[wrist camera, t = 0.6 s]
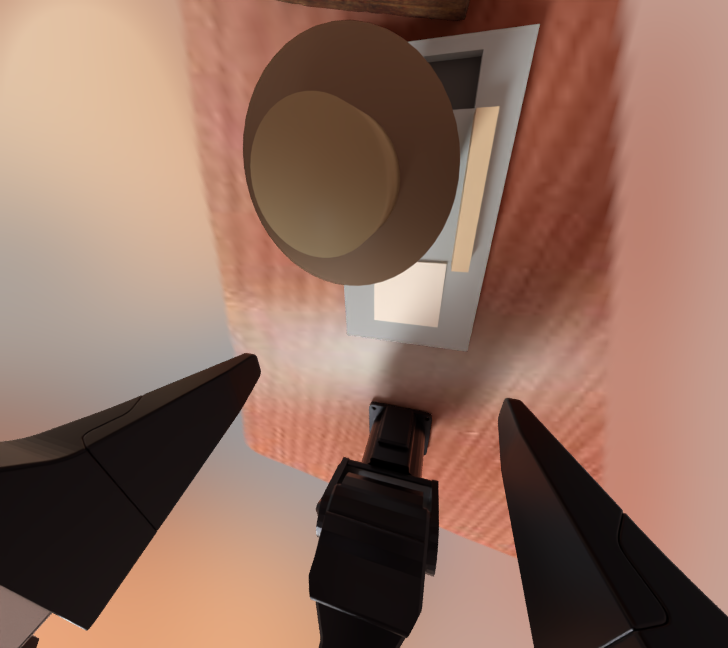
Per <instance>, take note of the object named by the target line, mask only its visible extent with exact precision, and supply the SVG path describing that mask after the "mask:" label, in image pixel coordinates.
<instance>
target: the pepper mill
mask: <svg viewBox="0 0 728 648" xmlns="http://www.w3.org/2000/svg"><path fill="white" fill-rule="evenodd" d="M243 158H244V169H245V175H246V181H247V185H248V189H249V193H250V197H251V200H252V202H253V205H254V208H255V210H256V212H257V215H258V217H259V219H260V221H261V223H262V225H263V226H264V228H265V230H266V231H267V233H268V235H269V236H270V237H271V239H272V240H273V241H274V243H275V244H276V245H277V247H278V248H279V249H280V250H281V251H282V252H283V253H284V254H285V255H286V256H287V257H288V258H289V259H290V260H291V261H292V262H294V263H295V264H296V265H298V266H299V267H300V268H302V269H303V270H305V271H306V272H308V273H310V274H312V275H313V276H315V277H318V278H320V279H323V280H325V281H328V282H332V283H335V284H341V285H347V286H362V285H371V284H375V283H380V282H383V281H386V280H388V279H391V278H393V277H395V276H397V275H399V274H401V273H403V272H404V271H406V270H407V269H409V268H410V267H411V266H413V265H414V264H415V263H416V262H417V261H418V260H420V259H421V258H422V257H423V256H424V255H425V254H426V253H427V251H428V250H429V249H430V248H431V246H432V245H433V244H434V243H435V241H436V240H437V238H438V236H439V235H440V233H441V232H442V230H443V228H444V226H445V224H446V222H447V219H448V217H449V215H450V212H451V209H452V206H453V203H454V200H455V196H456V191H457V186H458V181H459V171H460V142H459V136H458V130H457V123H456V119H455V116H454V113H453V109H452V106H451V102H450V100H449V98H448V96H447V93H446V91H445V89H444V87H443V84H442V82H441V81H440V79H439V78H438V76H437V75H436V73H435V71H434V70H433V68H432V67H431V65H430V64H429V63H428V62H427V61H426V59H425V58H424V57H423V56H422V55H421V54H420V52H419V51H418V50H417V49H415V48H414V47H413V46H412V45H411V44H409V43H408V42H407V41H406V40H405V39H403V38H402V37H400V36H398V35H397V34H395V33H393V32H391V31H390V30H388V29H386V28H383V27H381V26H378V25H375V24H372V23H369V22H362V21H355V20H342V21H331V22H328V23H324V24H320V25H317V26H314V27H312V28H310V29H308V30H306V31H304V32H302V33H300V34H299V35H297V36H296V37H295V38H293V39H292V40H291V41H289V42H288V43H286V44H285V46H284V47H283V48H282V49H281V50H280V51H279V52H278V53H277V54H276V55H275V56H274V57H273V58H272V60H271V61H270V63H269V64H268V65H267V67H266V68H265V70H264V71H263V73H262V75H261V77H260V79H259V81H258V83H257V84H256V87H255V89H254V92H253V95H252V97H251V100H250V103H249V107H248V111H247V115H246V120H245V128H244V135H243Z"/></svg>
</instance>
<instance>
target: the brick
mask: <svg viewBox="0 0 728 648" xmlns="http://www.w3.org/2000/svg"><path fill="white" fill-rule="evenodd" d="M278 1H282V2H287V3H292V4H302V5H304V6H310V7H319V8H329V9H338V10H346V11H357V12H371V13H385V14H392V15H400V16H408V17H423V18H430V19H445V20H463V19H465V17H466V13H467V9H468V5H469V1H470V0H278Z"/></svg>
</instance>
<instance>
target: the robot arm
mask: <svg viewBox="0 0 728 648" xmlns="http://www.w3.org/2000/svg"><path fill="white" fill-rule="evenodd" d="M260 374H261V369H260V366H259V362H258V358H257V356H256V355H255V354H250V353H244V354H242V355H239V356H237V357H234V358H232V359H230V360H228V361H225V362H222V363H220V364H217V365H215V366H213V367H210V368H208V369H205V370H203V371H200V372H198V373H195V374H193V375H190V376H188V377H186V378H183V379H181V380H178V381H176V382H173V383H171V384H168V385H166V386H163V387H161V388H159V389H156V390H154V391H151V392H149V393H146V394H145V395H143V396H139V397H137V398H134V399H132V400H129V401H127V402H124V403H122V404H119V405H116V406H114V407H111V408H109V409H106V410H104V411H101V412H98V413H95V414H92V415H90V416H87V417H84V418H81V419H79V420H76V421H73V422H70V423H68V424H65V425H62V426H59V427H56V428H53V429H51V430H48V431H45V432H42V433H40V434H36V435H33V436H30V437H26V438H22V439H17V440H12V441H4V442H0V648H36V647H37V644H38V641H39V638H37V637H36V636H34V635H33V634H34V633H35V632H36V631H37V629H38V628H39V627H40V626H41V625H42V624H43V622H45V620H46V619H47V618H48V617H49V616H50V615H51V614H52V613H54V614H56V615H58V616H59V617H61V618H63V619H65V620H67V621H69V622H71V623H73V624H75V625H77V626H78V627H80V628H82V629H84V630H88V629H89V628H90V627H91V626H92V624H93V623H94V622H95V621H96V619H97V618H98V617H99V615H100V614H101V612H102V611H103V609H104V608H105V606H106V605H107V603H108V602H109V600H110V599H111V598H112V596H113V595H114V593H115V592H116V590H117V589H118V588H119V586H120V584H121V583H122V582H123V580H124V579H125V577H126V576H127V575H128V573H129V572H130V570H131V569H132V567H133V566H134V564H135V563H136V562H137V560H138V559H139V557H140V556H141V554H142V553H143V551H144V550H145V548H146V547H147V546H148V544H149V542H150V541H151V540H152V538H153V537H154V535H155V534H156V532H157V530H158V529H159V528H160V526H161V525H162V523H163V522H164V521H165V519H166V518H167V516H168V515H169V514H170V512H171V511H172V509H173V508H174V506H175V505H176V503H177V502H178V501H179V499H180V497H181V496H182V495H183V493H184V492H185V490H186V489H187V488H188V486H189V484H190V483H191V482H192V480H193V479H194V477H195V476H196V474H197V473H198V472H199V470H200V469H201V467H202V466H203V464H204V463H205V461H206V460H207V459H208V457H209V456H210V454H211V453H212V451H213V450H214V448H215V447H216V446H217V444H218V443H219V441H220V440H221V438H222V437H223V435H224V434H225V433H226V431H227V430H228V428H229V427H230V425H231V424H232V422H233V421H234V420H235V418H236V416H237V415H238V414H239V412H240V411H241V409H242V407H243V406H244V404H245V402H246V400H247V399H248V397H249V395H250V393H251V392H252V390H253V388H254V386H255V384H256V383H257V381H258V379H259V377H260ZM373 406H374V407H373ZM427 417H428V418H427ZM431 423H432V415H431V414H430V413H428V412H423V411H418V410H412V409H407V408H402V407H397V406H392V405H387V404H382V403H377V402H371V403H370V406H369V425H370V435H369V439H368V442H367V445H366V449H365V452H364V455H363V459H362V462H358V461H354V460H350V459H349V458H346V457H343V459H342V461H341V463H340V464H339V465H338V467H337V469H336V471H335V473H334V475H333V477H332V479H331V481H330V482H329V484H328V486H327V489H326V490H325V492H324V494H323V496H322V498H321V499H320V501H319V502H318V504H317V507H316V512H317V514H318V520H317V526H316V535H317V537H319V541H318V546H317V549H316V553H315V557H314V560H313V563H312V566H311V570H310V573H309V594H310V598H311V599H312V600H314V601H316V608H317V615H318V623H319V630H320V644H319V648H400V646H401V645H402V643H403V641H404V640H405V638H407V637H408V636H409V634H410V633H411V630H412V629H413V627H414V625H415V623H416V621H417V619H418V617H419V615H420V613H421V610H422V603H423V602H422V601H423V592H424V580H425V574H427V575H431V576H434V574H435V569H436V562H437V552H438V536H439V495H438V481H436V480H428V479H424V478H421V477H422V466H423V455H426V453H427V447H428V441H429V435H430V429H431ZM498 430H499V445H500V461H501V471H502V478H503V483H504V489H505V494H506V499H507V505H508V510H509V515H510V521H511V526H512V532H513V537H514V542H515V548H516V553H517V558H518V563H519V569H520V574H521V579H522V585H523V590H524V596H525V601H526V607H527V612H528V617H529V622H530V628H531V633H532V639H533V644H534V648H728V616H727V615H726V614H724V612H723V611H721V609H719V608H718V607H717V606H716V605H715V604H714V603H713V602H712V601H711V600H710V599H709V598H708V597H707V596H706V595H705V594H704V593H703V592H702V591H701V590H700V589H699V588H698V587H697V586H696V585H695V584H694V583H693V582H691V580H690V579H689V578H687V576H686V575H685V574H684V573H683V572H682V571H681V570H679V568H678V567H677V566H676V565H675V564H673V562H672V561H671V560H670V559H669V558H668V557H667V556H665V554H664V553H663V552H662V551H661V550H660V549H659V548H658V547H657V546H656V545H655V544H654V543H653V542H652V541H651V540H650V539H649V538H648V537H647V536H646V534H644V532H643V531H642V530H641V529H640V528H639V527H638V526H637V525H636V524H635V523H634V522H633V521H632V520H631V518H630V517H629V516H628V515H627V514H625V513H623V510H622V509H621V508H620V507H619V506H618V505H617V504H616V502H615V501H614V500H613V499H612V498H611V497H610V496H609V495H608V494H607V493H606V492H605V491H604V490H603V488H602V487H601V486H600V485H599V484H598V483H597V482H596V481H595V480H594V479H593V478H592V477H591V476H590V474H589V473H588V472H587V471H586V470H585V469H584V468H583V467H582V466H581V465H580V464H579V463H578V462H577V460H576V459H575V458H574V457H573V456H572V455H571V454H570V453H569V452H568V451H567V450H566V449H565V448H564V446H563V445H562V444H561V443H560V442H559V441H558V440H557V439H556V438H555V437H554V436H553V435H552V434H551V432H550V431H549V430H548V429H547V428H546V427H545V426H544V425H543V424H542V423H541V422H540V421H539V420H538V418H537V417H536V416H535V415H534V414H533V413H532V412H531V411H530V410H529V409H528V408H527V407H526V406H525V404H524V403H523V402H522V401H520V400H518V399H512V398H506V399H505V400H504V402H503V405H502V408H501V410H500V413H499V417H498Z"/></svg>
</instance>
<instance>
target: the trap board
mask: <svg viewBox="0 0 728 648" xmlns="http://www.w3.org/2000/svg"><path fill="white" fill-rule="evenodd" d="M539 26H540V24H534V25H527V26H520V27H512V28H505V29H498V30H490V31H483V32H476V33H468V34H461V35H454V36H446V37H439V38H432V39H424V40H417V41H410V42H408V43H409V44H411V45H412V46H413V47H414V48H415V49H417V50H418V51H419V52H420V54H421V55H422V56H423V57H424V58H425V59H426V61H427V62H428V63H429V64H430V65H431V67H432V68H433V70H434V71H435V73H436V75H437V76H438V78H439V79H440V81H441V82H442V84H443V87H444V89H445V91H446V93H447V96H448V98H449V100H450V102H451V106H452V109H453V113H454V116H455V119H456V123H457V130H458V136H459V142H460V171H459V181H458V186H457V191H456V196H455V200H454V203H453V206H452V209H451V212H450V215H449V217H448V219H447V222H446V224H445V226H444V228H443V230H442V232H441V233H440V235H439V236H438V238H437V240H436V241H435V243H434V244H433V245H432V246H431V248H430V249H429V250H428V251H427V253H426V254H425V255H424V256H423V257H422V258H421V259H420V260H418V261H417V262H416V263H415V264H414V265H413V266H411V267H410V268H409V269H407V270H406V271H404V272H403V273H401V274H399V275H397V276H395V277H393V278H391V279H388V280H386V281H383V282H380V283H375V284H371V285H362V286H347V285H344V292H345V308H346V324H347V335H349V336H357V337H364V338H371V339H378V340H386V341H393V342H400V343H407V344H415V345H422V346H429V347H436V348H444V349H451V350H458V351H465V352H467V350H468V346H469V341H470V337H471V332H472V328H473V323H474V319H475V314H476V310H477V305H478V301H479V296H480V292H481V287H482V283H483V278H484V274H485V269H486V265H487V260H488V256H489V251H490V247H491V242H492V238H493V233H494V229H495V224H496V220H497V215H498V211H499V206H500V202H501V197H502V193H503V188H504V184H505V179H506V175H507V170H508V166H509V161H510V157H511V152H512V148H513V143H514V139H515V134H516V130H517V125H518V121H519V116H520V112H521V107H522V103H523V98H524V94H525V89H526V85H527V80H528V76H529V71H530V67H531V62H532V58H533V53H534V49H535V44H536V40H537V35H538V31H539Z"/></svg>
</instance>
